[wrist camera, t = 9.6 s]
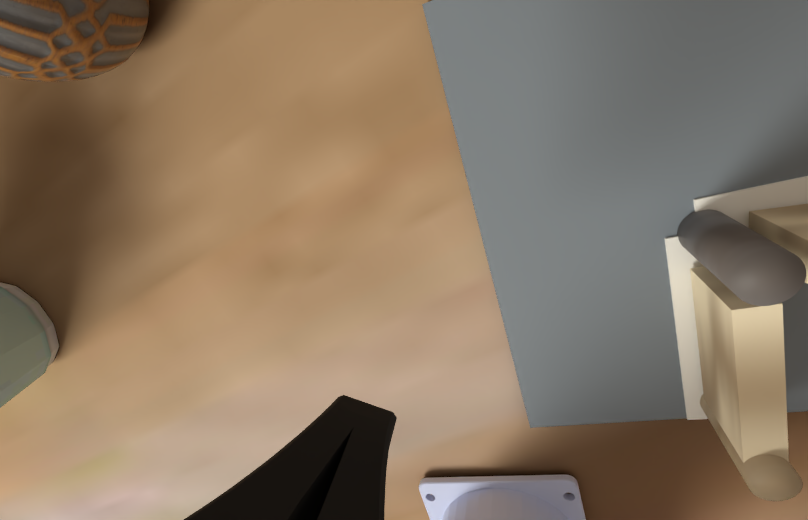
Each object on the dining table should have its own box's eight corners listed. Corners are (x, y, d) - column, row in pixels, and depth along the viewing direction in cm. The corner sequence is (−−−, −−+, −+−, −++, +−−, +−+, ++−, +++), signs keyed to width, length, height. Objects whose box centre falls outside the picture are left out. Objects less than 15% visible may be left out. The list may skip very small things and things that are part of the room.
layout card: (1134, 382, 13) (1156, 392, 13) (530, 421, 20) (530, 429, 19) (1314, -364, 8) (1359, -389, 8) (424, 6, 15) (421, 3, 14)
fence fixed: (739, 405, 17) (811, 506, 13) (693, 409, 17) (749, 507, 13) (723, 201, 14) (805, 243, 10) (670, 211, 15) (729, 256, 11)
